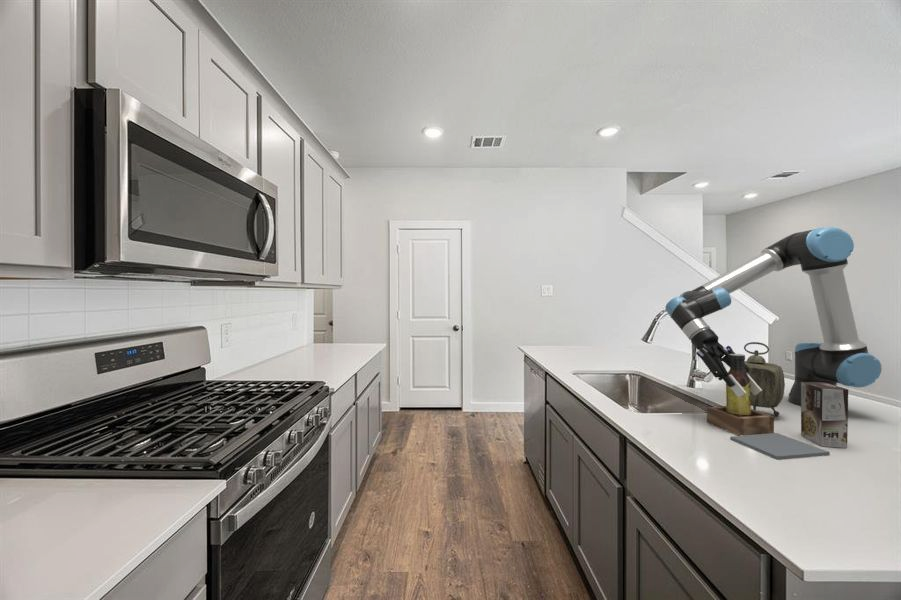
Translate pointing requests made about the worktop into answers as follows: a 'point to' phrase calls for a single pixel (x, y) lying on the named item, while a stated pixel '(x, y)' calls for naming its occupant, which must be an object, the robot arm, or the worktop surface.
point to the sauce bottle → (737, 370)
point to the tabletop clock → (765, 380)
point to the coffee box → (824, 414)
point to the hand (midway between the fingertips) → (750, 393)
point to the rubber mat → (779, 446)
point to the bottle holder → (740, 421)
